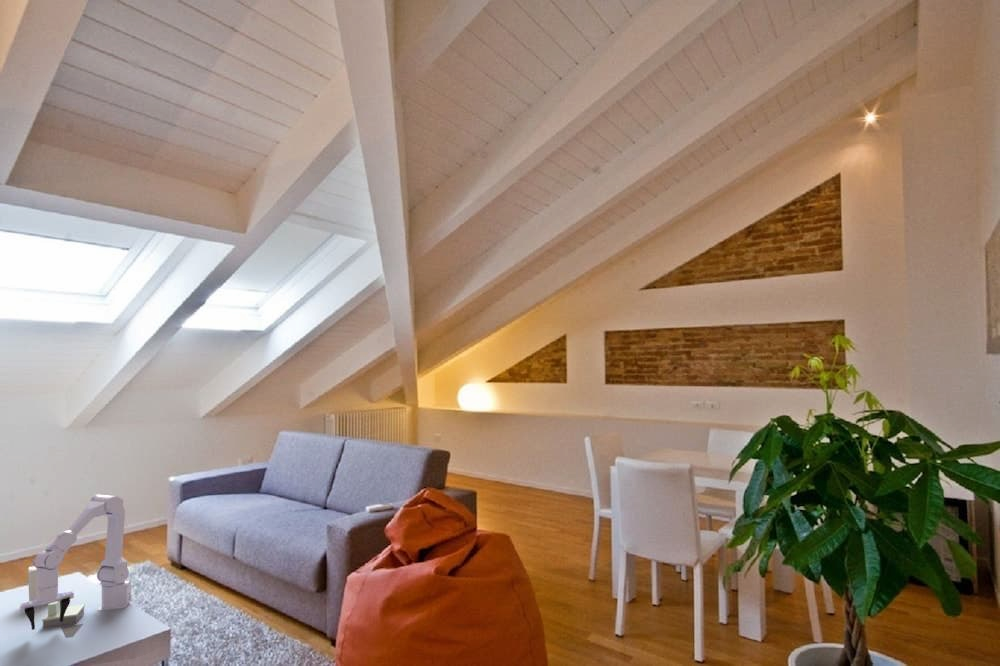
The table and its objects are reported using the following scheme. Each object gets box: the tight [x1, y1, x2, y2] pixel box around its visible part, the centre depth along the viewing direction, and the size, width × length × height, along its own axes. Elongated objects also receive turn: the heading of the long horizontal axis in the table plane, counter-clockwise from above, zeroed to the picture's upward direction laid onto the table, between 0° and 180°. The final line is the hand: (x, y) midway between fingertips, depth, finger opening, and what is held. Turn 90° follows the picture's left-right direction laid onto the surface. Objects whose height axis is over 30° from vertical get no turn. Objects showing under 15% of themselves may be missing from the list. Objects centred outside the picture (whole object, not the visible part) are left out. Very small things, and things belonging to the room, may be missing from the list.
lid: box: [41, 601, 86, 622], centre depth 208 cm, size 10×8×5 cm
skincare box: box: [27, 565, 37, 602], centre depth 223 cm, size 8×6×15 cm
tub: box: [42, 607, 85, 629], centre depth 208 cm, size 10×8×3 cm
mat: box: [60, 623, 84, 639], centre depth 198 cm, size 12×10×1 cm
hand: (47, 624), depth 197 cm, fingers open, 7 cm apart
